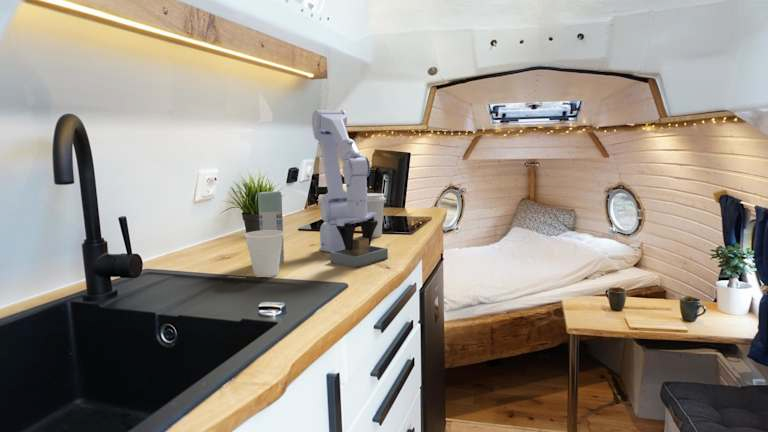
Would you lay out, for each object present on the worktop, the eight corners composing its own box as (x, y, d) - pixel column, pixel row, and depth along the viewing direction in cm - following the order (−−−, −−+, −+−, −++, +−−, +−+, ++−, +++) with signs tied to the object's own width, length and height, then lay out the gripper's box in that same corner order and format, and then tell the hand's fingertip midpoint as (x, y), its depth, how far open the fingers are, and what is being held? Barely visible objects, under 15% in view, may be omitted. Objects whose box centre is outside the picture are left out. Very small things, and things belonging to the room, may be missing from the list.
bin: (330, 262, 145) (330, 252, 144) (361, 253, 155) (361, 244, 154) (357, 267, 138) (356, 257, 138) (387, 258, 148) (387, 248, 148)
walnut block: (349, 259, 146) (348, 239, 145) (359, 257, 149) (358, 236, 148) (359, 261, 143) (359, 240, 142) (369, 259, 146) (368, 238, 145)
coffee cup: (356, 238, 179) (355, 195, 177) (362, 233, 188) (361, 192, 186) (383, 238, 178) (382, 195, 175) (387, 233, 187) (387, 192, 185)
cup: (292, 271, 136) (290, 230, 134) (273, 281, 126) (270, 238, 125) (260, 269, 139) (258, 229, 137) (238, 278, 130) (236, 236, 128)
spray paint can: (282, 264, 143) (279, 193, 140) (259, 265, 143) (255, 194, 140) (285, 259, 150) (282, 191, 147) (263, 259, 150) (260, 191, 146)
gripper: (349, 204, 136) (350, 253, 138) (384, 198, 147) (385, 244, 149) (330, 202, 140) (332, 250, 142) (365, 196, 151) (366, 241, 153)
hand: (358, 247), depth 146 cm, fingers open, 7 cm apart
